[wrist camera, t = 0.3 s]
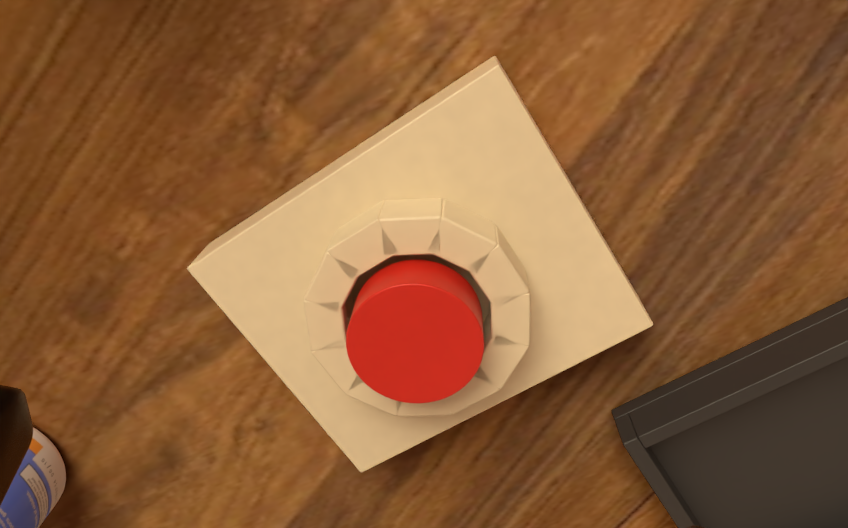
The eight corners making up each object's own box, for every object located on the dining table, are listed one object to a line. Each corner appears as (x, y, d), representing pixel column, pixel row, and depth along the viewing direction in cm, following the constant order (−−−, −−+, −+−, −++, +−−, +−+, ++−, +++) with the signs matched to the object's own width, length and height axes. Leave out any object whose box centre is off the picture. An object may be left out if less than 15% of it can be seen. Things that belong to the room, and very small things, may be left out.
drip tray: (718, 574, 30) (736, 617, 28) (610, 409, 26) (622, 444, 24) (960, 480, 27) (999, 519, 25) (873, 284, 24) (909, 312, 22)
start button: (400, 391, 22) (396, 424, 21) (328, 299, 21) (317, 326, 19) (506, 335, 21) (510, 365, 20) (436, 235, 20) (435, 258, 18)
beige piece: (368, 436, 27) (354, 508, 24) (208, 244, 24) (163, 292, 21) (638, 296, 24) (670, 354, 21) (495, 54, 21) (502, 73, 18)
